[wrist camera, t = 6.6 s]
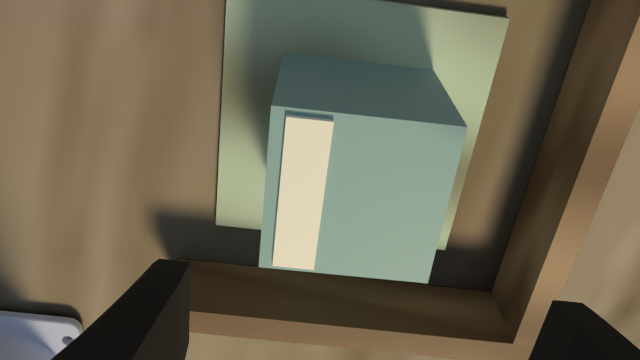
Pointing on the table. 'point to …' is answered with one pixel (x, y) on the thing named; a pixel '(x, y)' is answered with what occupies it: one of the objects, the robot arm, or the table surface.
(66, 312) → the table surface
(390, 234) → the cube
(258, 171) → the corner arena
